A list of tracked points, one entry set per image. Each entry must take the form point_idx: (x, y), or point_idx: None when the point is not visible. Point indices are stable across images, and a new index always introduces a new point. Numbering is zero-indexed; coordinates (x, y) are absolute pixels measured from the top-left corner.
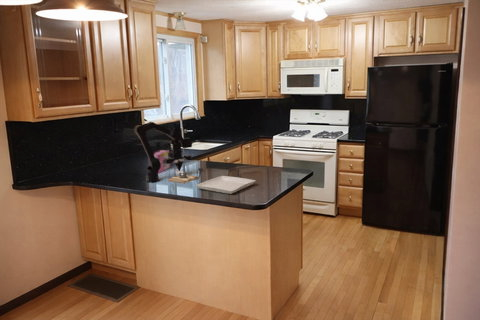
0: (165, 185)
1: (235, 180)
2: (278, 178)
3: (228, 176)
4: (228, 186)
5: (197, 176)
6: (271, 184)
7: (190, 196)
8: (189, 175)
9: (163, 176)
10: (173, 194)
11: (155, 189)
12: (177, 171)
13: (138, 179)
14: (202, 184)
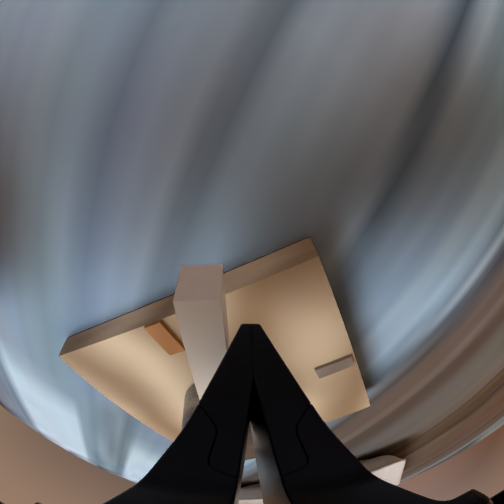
0: (59, 401)
1: (388, 471)
2: (475, 435)
3: (402, 468)
4: None
5: (360, 409)
6: (415, 469)
7: None
8: (335, 371)
9: (46, 45)
10: (109, 471)
11: (22, 409)
12: (194, 369)
13: None
14: (242, 497)
